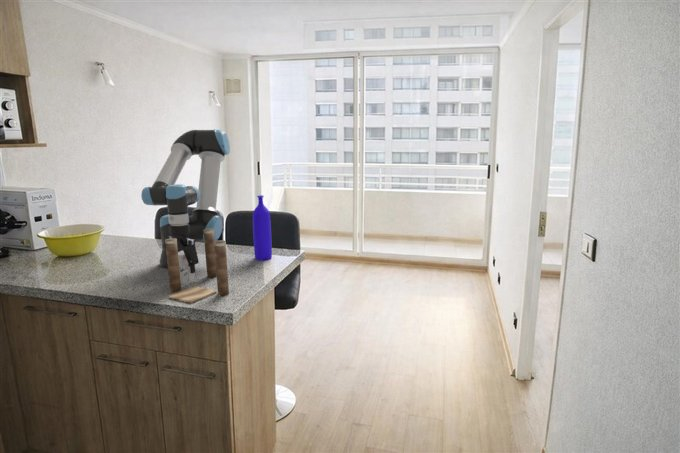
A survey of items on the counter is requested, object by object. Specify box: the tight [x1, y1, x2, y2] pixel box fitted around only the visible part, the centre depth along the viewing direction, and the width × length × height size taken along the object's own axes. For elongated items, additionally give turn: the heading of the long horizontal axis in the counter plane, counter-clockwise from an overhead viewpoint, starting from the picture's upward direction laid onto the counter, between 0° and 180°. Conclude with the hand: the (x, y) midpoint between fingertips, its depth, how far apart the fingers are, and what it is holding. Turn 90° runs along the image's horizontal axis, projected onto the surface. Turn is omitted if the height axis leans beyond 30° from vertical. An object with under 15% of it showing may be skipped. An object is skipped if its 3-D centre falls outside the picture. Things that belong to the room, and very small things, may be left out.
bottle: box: [252, 194, 273, 261], centre depth 208 cm, size 8×8×30 cm
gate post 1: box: [165, 238, 182, 293], centre depth 167 cm, size 4×4×20 cm
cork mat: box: [167, 285, 217, 304], centre depth 163 cm, size 12×12×1 cm
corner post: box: [214, 239, 230, 297], centre depth 162 cm, size 4×4×20 cm
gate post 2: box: [203, 228, 217, 279], centre depth 183 cm, size 4×4×20 cm
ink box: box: [178, 250, 192, 285], centre depth 178 cm, size 9×5×12 cm, turn 168°
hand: (183, 278), depth 179 cm, fingers open, 8 cm apart
